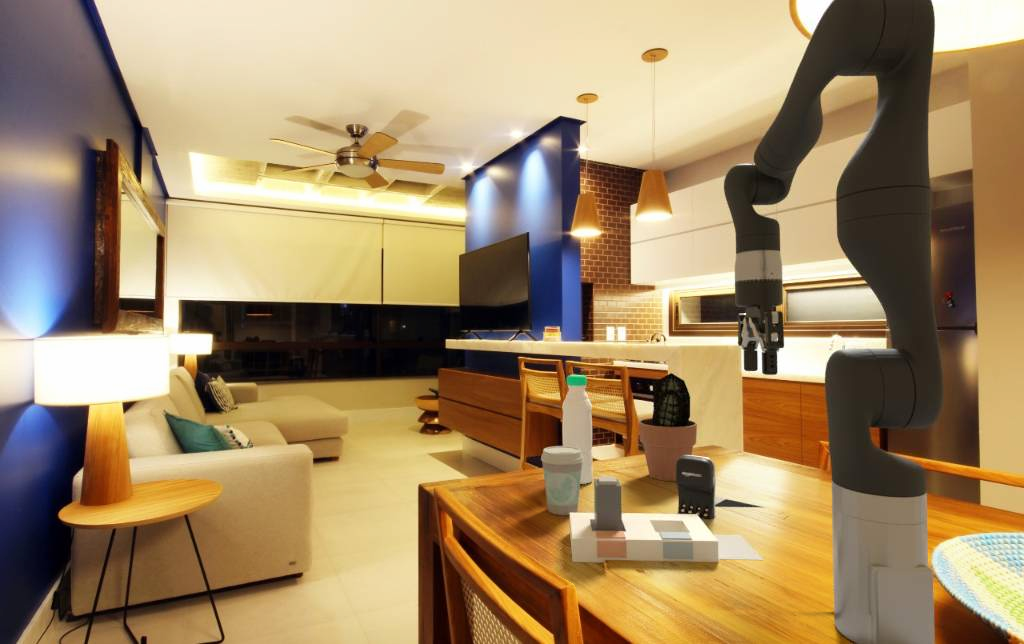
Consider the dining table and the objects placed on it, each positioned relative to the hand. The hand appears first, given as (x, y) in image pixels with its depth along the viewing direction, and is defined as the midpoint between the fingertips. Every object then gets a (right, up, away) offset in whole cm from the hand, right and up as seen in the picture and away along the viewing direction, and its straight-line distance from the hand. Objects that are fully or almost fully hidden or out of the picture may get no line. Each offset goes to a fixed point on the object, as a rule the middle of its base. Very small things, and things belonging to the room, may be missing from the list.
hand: (759, 372), depth 94 cm
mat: (-8, -28, -6) cm, 30 cm away
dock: (-22, -28, -5) cm, 36 cm away
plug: (-27, -28, -4) cm, 39 cm away
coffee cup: (-33, -29, +14) cm, 46 cm away
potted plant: (-5, -29, +38) cm, 48 cm away
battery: (-8, -29, +9) cm, 31 cm away
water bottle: (-27, -29, +35) cm, 53 cm away
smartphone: (+3, -29, +12) cm, 32 cm away
